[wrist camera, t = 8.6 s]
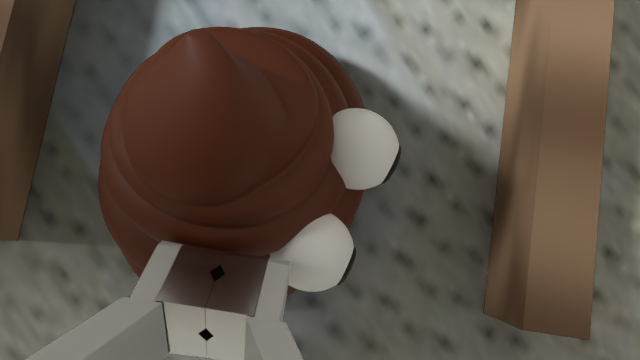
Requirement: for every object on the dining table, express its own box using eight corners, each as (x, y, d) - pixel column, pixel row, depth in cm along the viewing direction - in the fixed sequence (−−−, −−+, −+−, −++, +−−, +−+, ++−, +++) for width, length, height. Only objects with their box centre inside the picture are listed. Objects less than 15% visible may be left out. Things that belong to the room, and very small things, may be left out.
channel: (537, 321, 16) (670, 370, 10) (-38, 231, 16) (-240, 228, 10) (570, -50, 18) (699, -190, 12) (55, -133, 18) (-68, -315, 12)
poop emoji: (209, 12, 17) (97, -244, 8) (410, 103, 17) (530, -53, 8) (84, 249, 16) (-217, 265, 7) (299, 351, 16) (287, 510, 7)
